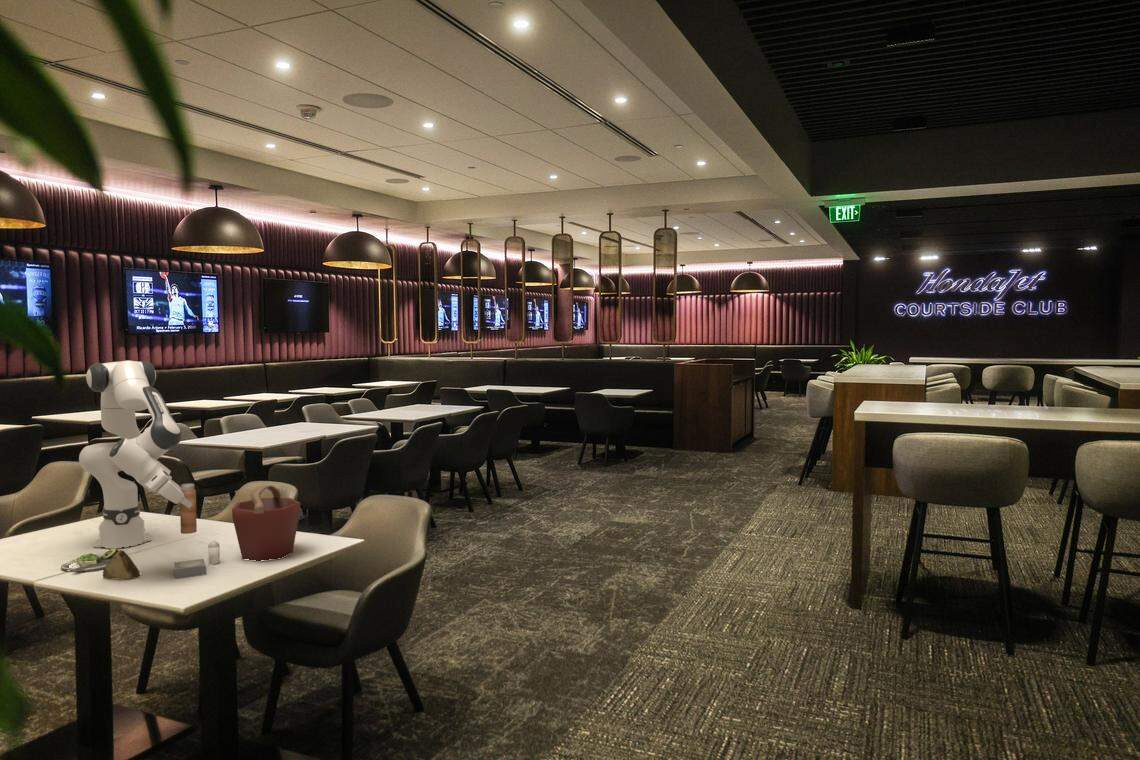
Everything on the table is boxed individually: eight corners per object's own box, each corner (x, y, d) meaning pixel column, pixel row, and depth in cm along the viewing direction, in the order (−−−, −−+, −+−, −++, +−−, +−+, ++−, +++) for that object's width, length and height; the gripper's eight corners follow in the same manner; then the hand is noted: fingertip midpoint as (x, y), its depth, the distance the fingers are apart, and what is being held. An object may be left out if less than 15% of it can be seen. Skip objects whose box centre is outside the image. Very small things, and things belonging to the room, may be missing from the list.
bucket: (273, 566, 264) (271, 494, 263) (216, 562, 269) (214, 492, 267) (311, 547, 288) (309, 481, 287) (258, 544, 293) (256, 479, 291)
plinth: (174, 571, 259) (174, 562, 259) (203, 567, 264) (203, 558, 263) (175, 578, 251) (175, 569, 251) (206, 574, 256) (205, 565, 256)
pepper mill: (180, 531, 259) (179, 484, 259) (196, 529, 262) (195, 482, 261) (181, 534, 255) (180, 486, 254) (197, 532, 257) (196, 484, 257)
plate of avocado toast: (96, 576, 255) (96, 562, 255) (46, 575, 256) (45, 561, 256) (134, 559, 274) (134, 546, 274) (87, 558, 276) (87, 545, 275)
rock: (91, 572, 250) (106, 574, 244) (106, 548, 254) (121, 548, 249) (121, 585, 257) (136, 587, 251) (135, 561, 261) (150, 562, 256)
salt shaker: (208, 562, 269) (207, 540, 269) (219, 561, 271) (218, 539, 270) (209, 565, 266) (208, 543, 265) (220, 563, 268) (219, 541, 267)
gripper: (147, 480, 261) (180, 506, 266) (149, 490, 243) (185, 517, 249) (162, 466, 263) (194, 492, 268) (165, 474, 245) (200, 502, 251)
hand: (190, 504), depth 258 cm, fingers closed on pepper mill, 5 cm apart
